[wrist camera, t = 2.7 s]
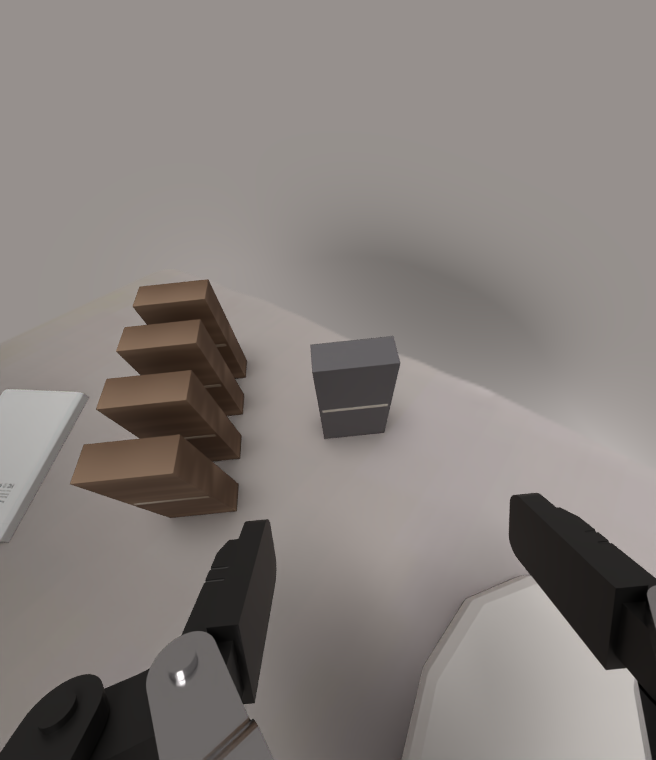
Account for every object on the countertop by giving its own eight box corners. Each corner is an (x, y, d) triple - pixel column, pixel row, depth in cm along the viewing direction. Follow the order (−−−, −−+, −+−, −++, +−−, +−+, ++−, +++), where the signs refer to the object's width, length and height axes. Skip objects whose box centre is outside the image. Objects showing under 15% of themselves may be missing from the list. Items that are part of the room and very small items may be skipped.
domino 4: (236, 511, 23) (173, 473, 15) (170, 518, 23) (69, 484, 15) (238, 483, 25) (180, 434, 16) (175, 490, 25) (83, 444, 16)
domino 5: (384, 432, 26) (400, 363, 18) (324, 439, 26) (312, 372, 18) (379, 411, 27) (393, 335, 19) (322, 417, 27) (310, 344, 19)
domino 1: (245, 377, 30) (204, 298, 21) (193, 383, 30) (132, 306, 21) (246, 360, 31) (208, 279, 23) (196, 365, 31) (139, 286, 23)
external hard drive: (94, 400, 30) (16, 543, 24) (17, 396, 31) (-80, 535, 24) (82, 391, 29) (-5, 541, 22) (2, 388, 30) (-105, 532, 23)
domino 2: (242, 414, 28) (196, 343, 19) (187, 420, 28) (115, 351, 19) (244, 394, 29) (200, 319, 20) (190, 400, 29) (124, 327, 20)
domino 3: (240, 458, 26) (185, 400, 17) (179, 465, 26) (95, 409, 17) (241, 435, 27) (191, 369, 18) (183, 441, 27) (106, 378, 18)
